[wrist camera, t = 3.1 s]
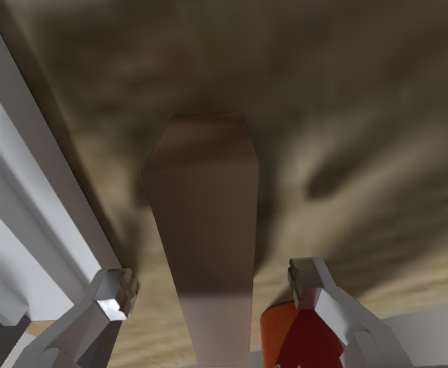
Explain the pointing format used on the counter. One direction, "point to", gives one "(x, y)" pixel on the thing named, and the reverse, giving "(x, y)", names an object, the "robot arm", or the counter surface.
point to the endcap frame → (43, 225)
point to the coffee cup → (298, 339)
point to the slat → (208, 228)
